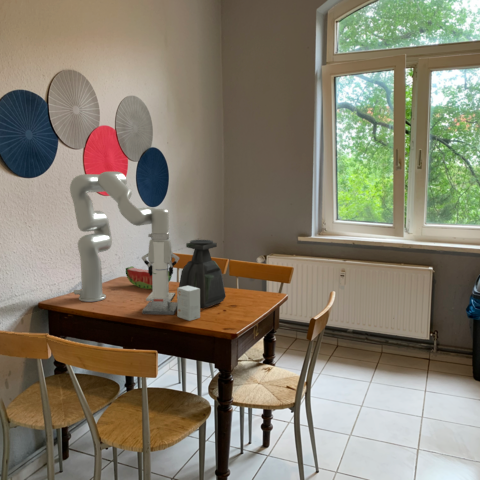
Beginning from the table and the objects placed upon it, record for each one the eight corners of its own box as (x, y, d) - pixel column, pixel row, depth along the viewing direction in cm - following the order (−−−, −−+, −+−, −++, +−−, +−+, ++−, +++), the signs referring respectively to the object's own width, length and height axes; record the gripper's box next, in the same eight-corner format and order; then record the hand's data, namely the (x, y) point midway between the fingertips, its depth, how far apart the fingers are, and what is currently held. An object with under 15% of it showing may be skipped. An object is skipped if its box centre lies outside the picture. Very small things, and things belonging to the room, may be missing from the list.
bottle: (226, 302, 219) (227, 241, 215) (205, 311, 206) (205, 245, 201) (198, 296, 229) (197, 237, 225) (175, 304, 216) (175, 241, 211)
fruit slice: (172, 289, 243) (172, 271, 241) (165, 292, 237) (165, 273, 236) (132, 283, 254) (132, 266, 252) (125, 286, 248) (124, 268, 246)
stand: (142, 313, 201) (141, 299, 200) (149, 304, 214) (149, 291, 214) (173, 314, 200) (173, 300, 199) (179, 305, 214) (179, 291, 213)
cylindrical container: (165, 298, 202) (164, 242, 198) (150, 297, 204) (149, 241, 200) (170, 294, 209) (170, 240, 205) (156, 293, 211) (155, 239, 207)
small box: (200, 317, 197) (200, 288, 195) (189, 321, 192) (189, 291, 190) (188, 313, 202) (188, 285, 200) (176, 316, 197) (176, 287, 195)
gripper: (138, 237, 199) (139, 276, 202) (178, 238, 198) (178, 277, 201) (142, 235, 206) (143, 273, 209) (181, 236, 206) (181, 273, 208)
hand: (160, 275), depth 205 cm, fingers open, 8 cm apart
